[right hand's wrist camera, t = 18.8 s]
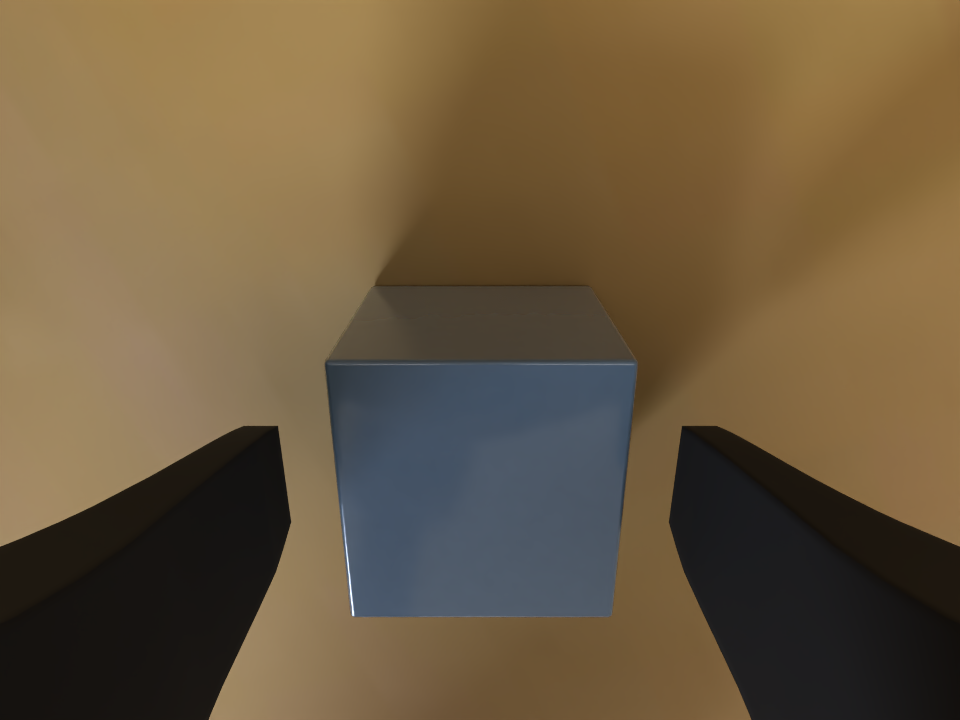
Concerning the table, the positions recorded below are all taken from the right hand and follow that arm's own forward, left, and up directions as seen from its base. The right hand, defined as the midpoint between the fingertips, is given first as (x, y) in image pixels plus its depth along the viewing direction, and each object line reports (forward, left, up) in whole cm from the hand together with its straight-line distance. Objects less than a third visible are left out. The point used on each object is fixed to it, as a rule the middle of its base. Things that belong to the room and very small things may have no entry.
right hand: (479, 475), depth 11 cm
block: (0, 0, -3) cm, 3 cm away
